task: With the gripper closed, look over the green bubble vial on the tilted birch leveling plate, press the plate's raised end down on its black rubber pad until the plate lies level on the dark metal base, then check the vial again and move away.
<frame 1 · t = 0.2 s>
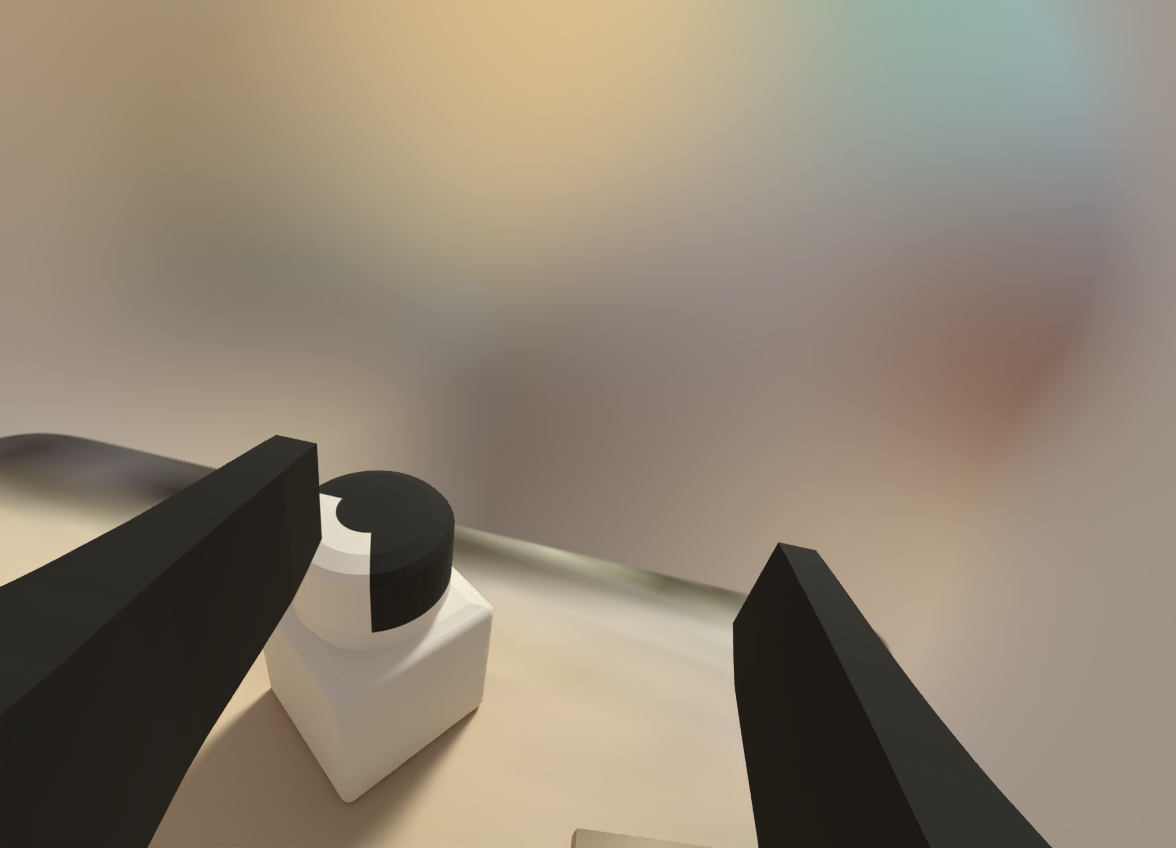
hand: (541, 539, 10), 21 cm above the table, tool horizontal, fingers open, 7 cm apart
medicine bottle: (379, 698, 29), on the table
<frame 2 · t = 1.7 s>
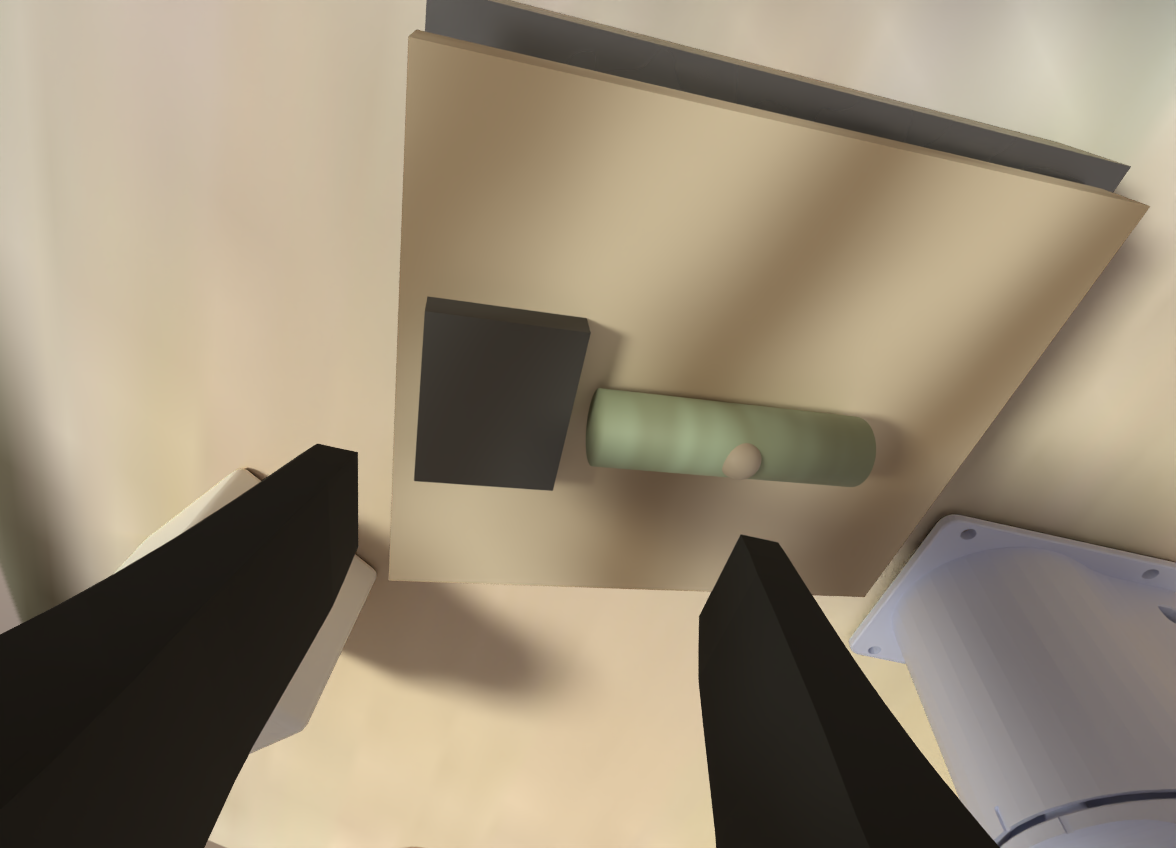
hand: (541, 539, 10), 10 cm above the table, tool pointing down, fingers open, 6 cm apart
medicine bottle: (268, 549, 26), on the table
instrument base: (687, 311, 18), on the table
leveling plate: (723, 426, 13), point 6 cm above the table, hinge at 12.0°
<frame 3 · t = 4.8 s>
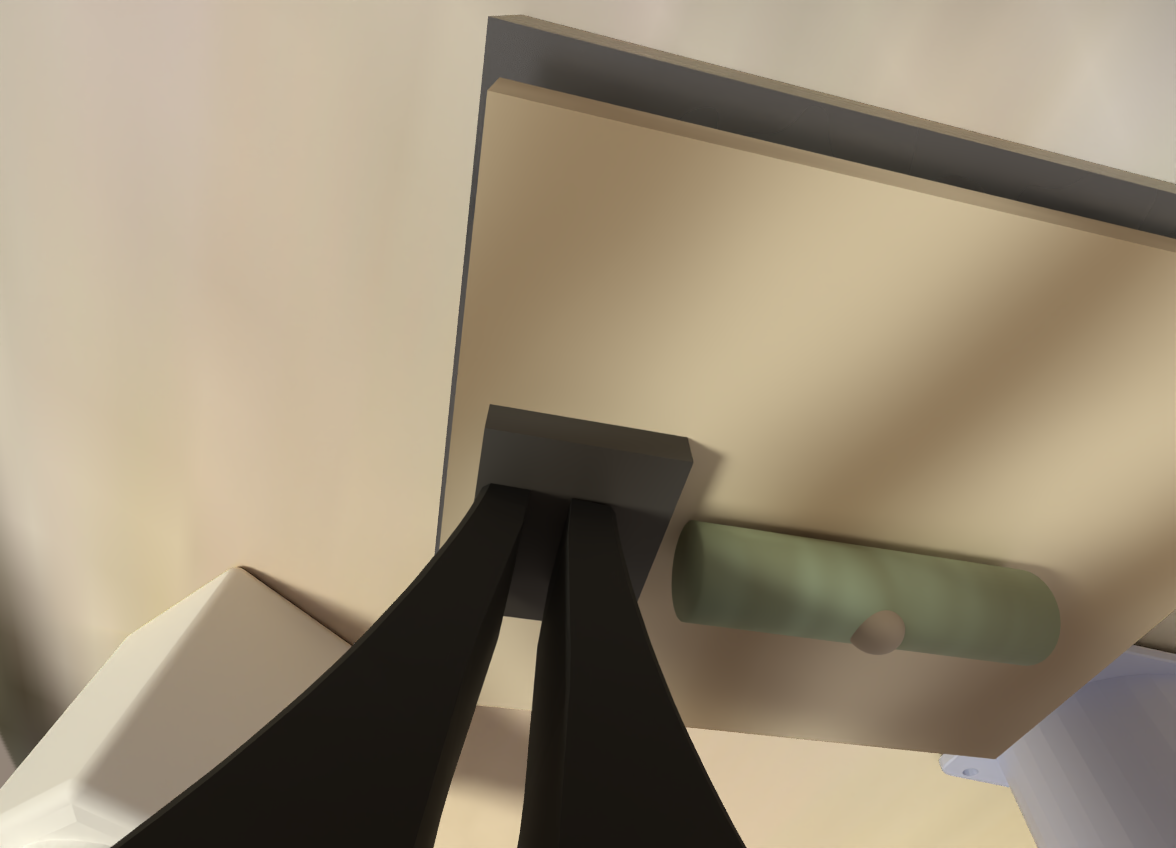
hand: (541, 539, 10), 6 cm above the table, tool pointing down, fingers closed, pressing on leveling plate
medicine bottle: (267, 647, 23), on the table
instrument base: (784, 407, 15), on the table
leveling plate: (848, 572, 11), point 5 cm above the table, hinge at 5.5°, touching gripper
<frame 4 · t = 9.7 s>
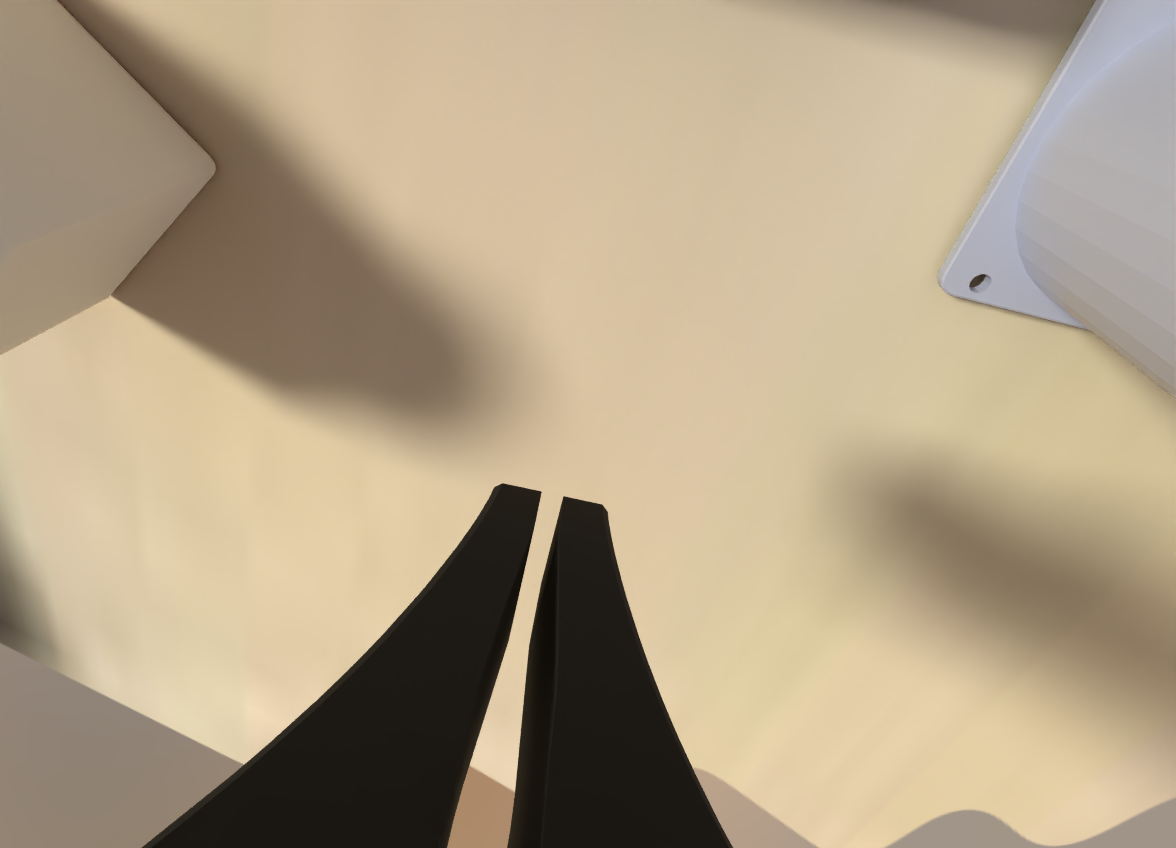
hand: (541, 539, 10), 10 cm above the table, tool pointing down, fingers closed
medicine bottle: (60, 135, 18), on the table
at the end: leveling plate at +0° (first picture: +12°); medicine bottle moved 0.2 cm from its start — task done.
